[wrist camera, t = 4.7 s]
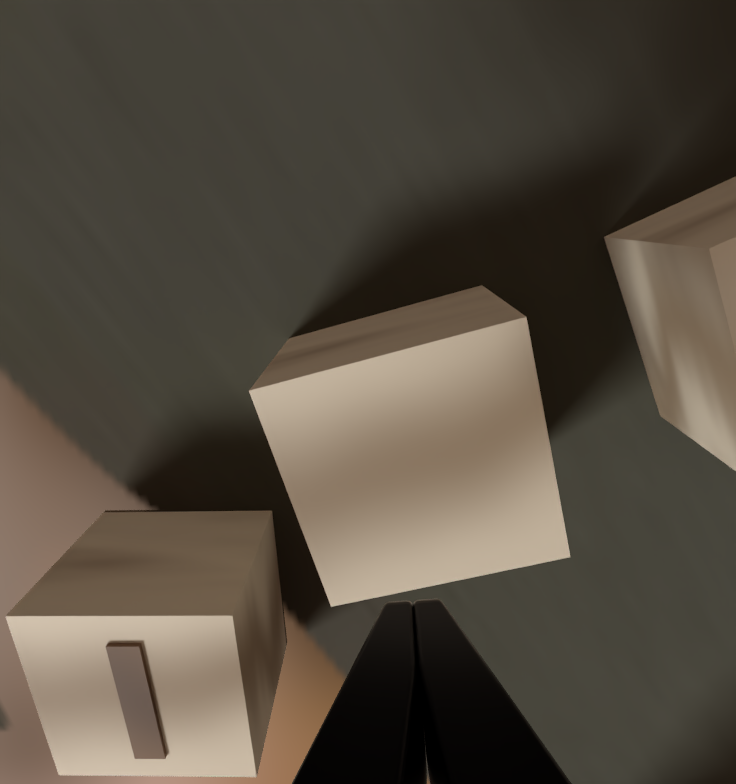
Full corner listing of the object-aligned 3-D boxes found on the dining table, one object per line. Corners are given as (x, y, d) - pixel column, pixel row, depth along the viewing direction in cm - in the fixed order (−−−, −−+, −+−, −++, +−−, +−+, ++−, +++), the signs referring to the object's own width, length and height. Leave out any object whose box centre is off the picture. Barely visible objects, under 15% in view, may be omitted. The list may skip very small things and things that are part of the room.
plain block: (517, 460, 17) (570, 556, 12) (345, 500, 17) (331, 606, 13) (481, 284, 15) (526, 317, 10) (289, 337, 16) (248, 391, 11)
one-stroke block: (287, 642, 20) (255, 781, 15) (136, 642, 20) (56, 779, 15) (272, 508, 18) (230, 619, 13) (105, 510, 18) (2, 619, 13)
